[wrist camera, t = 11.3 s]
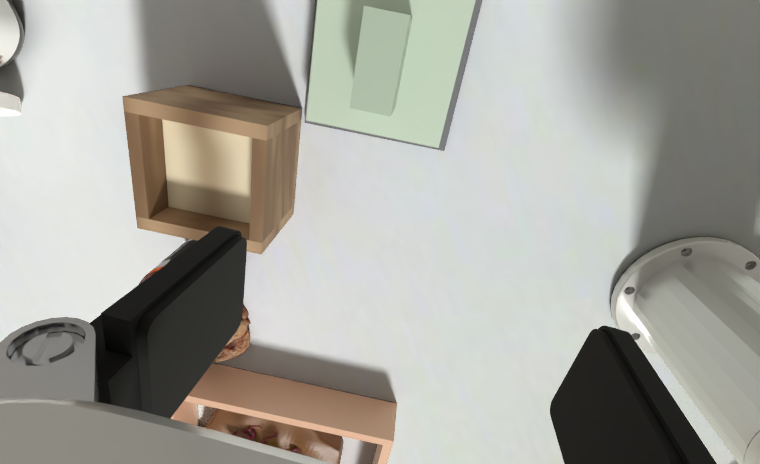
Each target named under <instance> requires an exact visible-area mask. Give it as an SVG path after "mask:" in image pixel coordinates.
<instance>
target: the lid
mask: <svg viewBox="0 0 760 464" xmlns="http://www.w3.org/2000/svg"><path fill="white" fill-rule="evenodd" d="M475 1H476V0H317V9H316V20H315V30H314V41H313V52H312V62H311V73H310V83H309V94H308V104H307V115H306V120H307V121H311V122H316V123H321V124H326V125H331V126H335V127H340V128H345V129H350V130H354V131H359V132H364V133H369V134H374V135H378V136H383V137H388V138H393V139H397V140H402V141H407V142H412V143H417V144H421V145H426V146H431V147H436V148H439V144H440V140H441V136H442V132H443V128H444V124H445V120H446V116H447V112H448V108H449V104H450V100H451V96H452V92H453V88H454V84H455V80H456V77H457V73H458V69H459V65H460V61H461V57H462V53H463V49H464V45H465V41H466V37H467V33H468V29H469V25H470V21H471V17H472V13H473V9H474V5H475Z"/></svg>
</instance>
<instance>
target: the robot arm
mask: <svg viewBox="0 0 760 464" xmlns="http://www.w3.org/2000/svg"><path fill="white" fill-rule="evenodd" d="M246 251H247V240H246V238H243V237H242V235H241V232H240V231H237V230H233V229H230V228H226V227H222V226H217V227H216V228H214V229H213V230H212V231H210V232H209V233H208V234H206V235H205V236H204V237H202V238H201V239H200V240H198V241H197V242H196V243H194V244H193V245H192V246H190V247H189V248H188V249H186V250H185V251H184V252H182V253H181V254H180V255H178V256H177V257H176V258H174V259H173V260H172V261H170V262H169V263H168V264H166V265H165V266H164V267H162V268H161V269H160V270H158V271H157V272H156V273H154V274H153V275H152V276H150V277H149V278H148V279H146V280H145V281H144V282H142V283H141V284H140V285H138V286H137V287H136V288H134V289H133V290H132V291H130V292H129V293H128V294H126V295H125V296H124V297H122V298H121V299H120V300H118V301H117V302H116V303H114V304H113V305H112V306H110V307H109V308H108V309H106V310H105V311H104V312H102V313H101V315H100V316H99V317H97V318H96V319H95V320H93V321H92V322H91V323H88V322H86V321H84V320H81V319H78V318H68V317H62V318H50V319H46V320H42V321H37V322H34V323H32V324H29V325H26V326H24V327H21V328H20V329H18V330H16V331H14V332H13V333H11V334H9V335H8V336H7V337H6V338H5V339H4V340H3V341H1V342H0V464H333V463H329V462H326V461H322V460H319V459H315V458H312V457H308V456H304V455H301V454H297V453H294V452H290V451H287V450H283V449H280V448H276V447H272V446H269V445H265V444H262V443H258V442H255V441H251V440H247V439H244V438H240V437H237V436H233V435H230V434H226V433H223V432H219V431H215V430H212V429H208V428H204V427H200V426H196V425H192V424H189V423H185V422H181V421H177V420H173V419H170V418H171V417H172V416H173V414H174V413H175V412H176V411H177V409H178V408H179V407H180V405H181V404H182V403H183V401H184V400H185V399H186V397H187V396H188V395H189V393H190V392H191V391H192V389H193V388H194V387H195V385H196V384H197V383H198V381H199V380H200V379H201V377H202V376H203V375H204V374H205V372H206V371H207V370H208V368H209V367H210V366H211V364H212V363H213V362H214V360H215V359H216V358H217V356H218V355H219V354H220V352H221V351H222V350H223V348H224V347H225V346H226V344H227V343H228V342H229V340H230V339H231V338H232V336H233V335H234V334H235V333H236V331H237V330H238V328H239V326H240V324H241V321H242V314H243V298H244V282H245V266H246ZM611 313H612V318H613V320H614V322H615V325H616V326H617V328H618V329H616V328H612V327H608V326H601V327H600V328H599V329H598V330H597V329H594V330H592V331H591V332H590V334H589V336H588V337H587V339H586V341H585V343H584V345H583V346H582V348H581V350H580V352H579V353H578V355H577V357H576V359H575V361H574V362H573V364H572V366H571V368H570V369H569V371H568V373H567V375H566V377H565V378H564V380H563V382H562V384H561V386H560V387H559V389H558V391H557V393H556V394H555V396H554V398H553V400H552V402H551V406H550V415H551V419H552V422H553V425H554V429H555V432H556V436H557V439H558V443H559V446H560V449H561V453H562V456H563V460H564V463H565V464H716V462H715V461H714V459H713V458H712V456H711V455H710V453H709V451H708V450H707V448H706V447H705V445H704V444H703V442H702V441H701V439H700V438H699V436H698V435H697V433H696V432H695V430H694V429H693V427H692V426H691V424H690V423H689V421H688V420H687V418H686V417H685V415H684V414H683V412H682V411H681V409H680V408H679V406H678V405H677V403H676V402H675V400H674V399H673V397H672V396H671V394H670V393H669V391H668V390H667V388H666V387H665V385H664V384H663V382H662V381H661V379H660V378H659V376H658V375H657V373H656V372H655V370H654V369H653V367H652V366H651V364H650V363H649V361H648V360H647V358H646V357H645V355H644V354H643V352H642V351H641V349H643V350H645V351H648V352H651V353H656V354H658V355H659V357H660V358H661V359H662V361H663V362H664V363H665V365H666V366H667V367H668V369H669V370H670V371H671V373H672V374H673V376H674V377H675V378H676V380H677V381H678V382H679V384H680V385H681V386H682V388H683V389H684V390H685V392H686V393H687V394H688V396H689V397H690V399H691V400H692V401H693V403H694V404H695V405H696V407H697V408H698V409H699V411H700V412H701V413H702V415H703V416H704V417H705V419H706V420H707V422H708V423H709V424H710V426H711V427H712V428H713V430H714V431H715V432H716V434H717V435H718V436H719V438H720V439H721V440H722V442H723V443H724V445H725V446H726V447H727V449H728V450H729V451H730V453H731V454H732V455H733V457H734V458H735V459H736V461H737V462H738V463H739V464H760V260H759V259H758V258H757V257H756V256H755V255H754V254H753V253H752V252H750V251H749V250H747V249H745V248H744V247H742V246H741V245H738V244H736V243H734V242H731V241H729V240H725V239H720V238H715V237H694V238H686V239H681V240H677V241H674V242H670V243H667V244H665V245H662V246H660V247H658V248H655V249H653V250H652V251H650V252H648V253H647V254H645V255H643V256H642V257H640V258H639V259H638V260H637V261H635V262H634V263H633V264H632V265H631V266H630V267H629V268H628V269H627V270H626V271H625V272H624V273H623V275H622V276H621V277H620V279H619V281H618V282H617V284H616V286H615V288H614V291H613V294H612V298H611Z"/></svg>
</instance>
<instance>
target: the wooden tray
mask: <svg viewBox="0 0 760 464" xmlns="http://www.w3.org/2000/svg"><path fill="white" fill-rule="evenodd" d="M198 404H200V405H204V406H209V407H213V408H218V409H222V410H227V411H231V412H236V413H240V414H245V415H249V416H254V417H258V418H263V419H267V420H272V421H276V422H281V423H285V424H290V425H294V426H299V427H303V428H308V429H312V430H317V431H321V432H326V433H330V434H335V435H339V436H344V437H348V438H353V439H357V440H362V441H366V442H371V443H375V444H377V448H376V451H375V455H374V459H373V463H372V464H387V462H388V458H389V455H390V452H391V448H392V445H393V441H394V430H395V419H396V408H397V403H392V402H388V401H383V400H378V399H374V398H369V397H365V396H360V395H356V394H351V393H347V392H342V391H337V390H333V389H328V388H324V387H319V386H315V385H310V384H306V383H301V382H296V381H292V380H287V379H283V378H278V377H274V376H269V375H265V374H260V373H255V372H251V371H246V370H242V369H237V368H233V367H228V366H224V365H219V364H214V363H212V364H211V366H210V367H209V368H208V370H207V371H206V372H205V374H204V375H203V376H202V377H201V379H200V380H199V381H198V383H197V384H196V385H195V387H194V388H193V389H192V391H191V392H190V393H189V395H188V396H187V397H186V399H185V400H184V401H183V403H182V404H181V405H180V407H179V408H178V409H177V411H176V412H175V413H174V414H173V416H172V417H171V418H170V419H173V420H177V421H181V422H185V423H189V424H192V425H196V426H199V420H198Z"/></svg>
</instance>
